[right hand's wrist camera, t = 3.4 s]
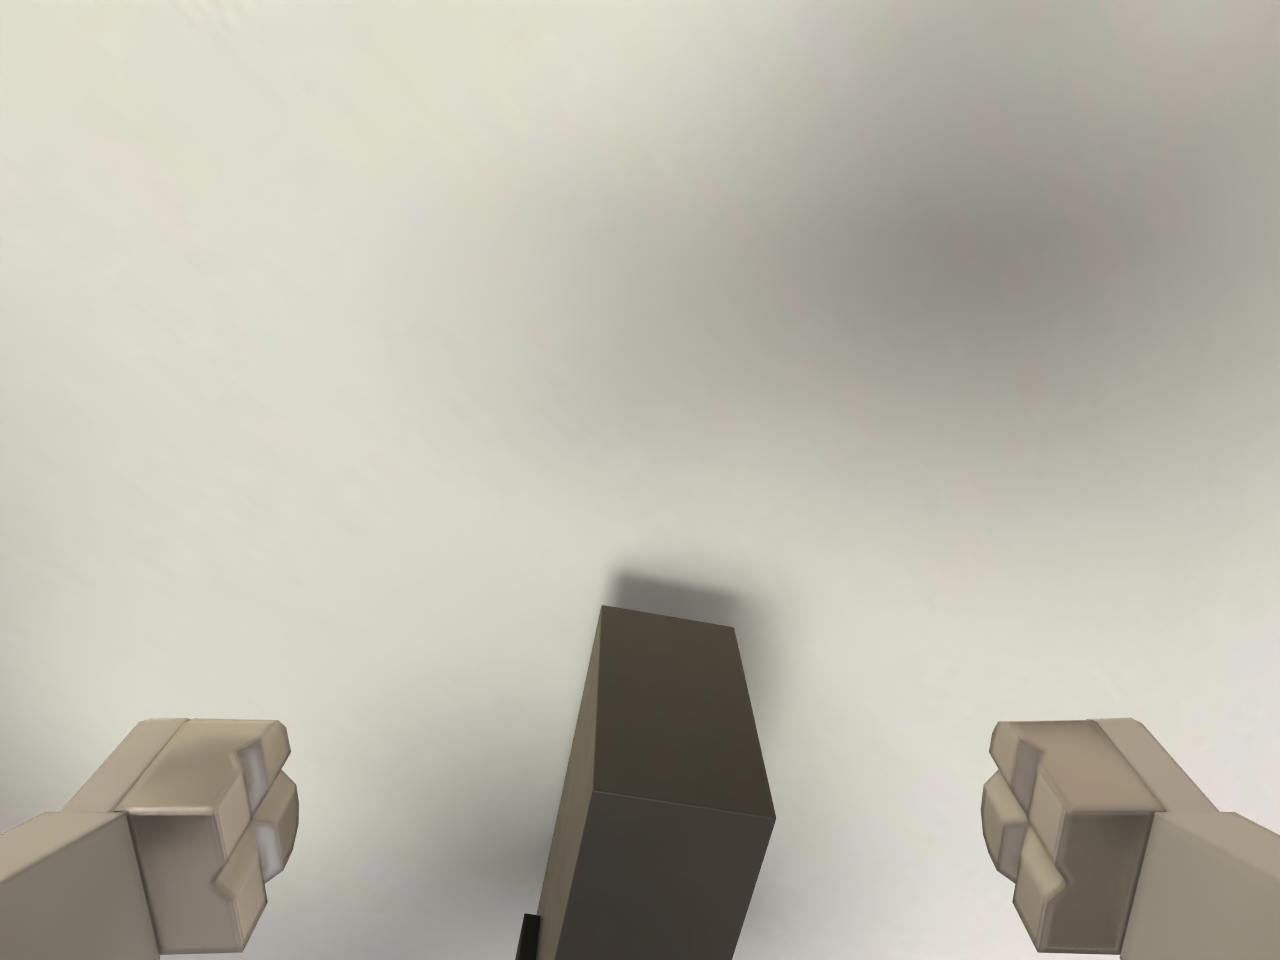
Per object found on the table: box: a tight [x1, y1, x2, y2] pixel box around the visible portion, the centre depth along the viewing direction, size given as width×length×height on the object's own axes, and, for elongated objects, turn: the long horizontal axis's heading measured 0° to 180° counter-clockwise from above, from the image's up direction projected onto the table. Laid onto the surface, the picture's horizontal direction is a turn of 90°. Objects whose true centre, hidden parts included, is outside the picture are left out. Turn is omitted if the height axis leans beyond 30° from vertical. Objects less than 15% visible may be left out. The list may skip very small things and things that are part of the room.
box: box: [536, 605, 776, 960], centre depth 38 cm, size 20×6×12 cm, turn 169°
